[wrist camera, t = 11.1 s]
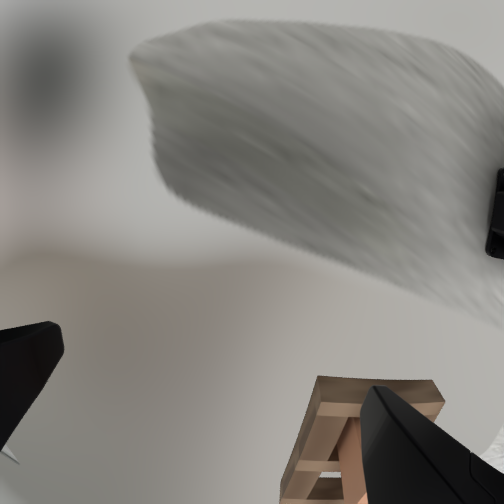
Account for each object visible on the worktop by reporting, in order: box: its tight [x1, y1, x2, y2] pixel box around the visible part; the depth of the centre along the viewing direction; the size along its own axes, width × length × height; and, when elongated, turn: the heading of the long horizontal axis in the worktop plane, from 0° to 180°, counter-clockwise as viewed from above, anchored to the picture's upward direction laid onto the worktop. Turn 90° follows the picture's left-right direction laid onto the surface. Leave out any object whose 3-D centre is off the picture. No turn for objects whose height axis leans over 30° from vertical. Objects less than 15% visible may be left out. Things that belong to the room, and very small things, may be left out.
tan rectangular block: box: [337, 417, 368, 504], centre depth 17 cm, size 4×4×9 cm
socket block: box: [279, 376, 445, 504], centre depth 20 cm, size 10×15×3 cm
